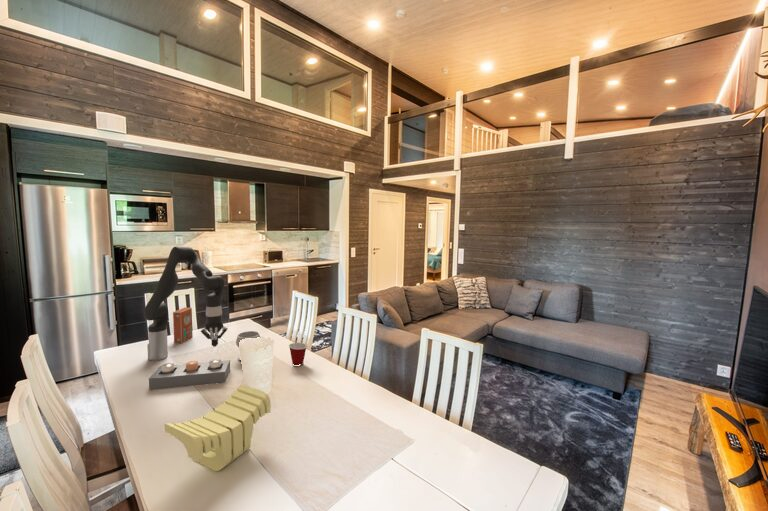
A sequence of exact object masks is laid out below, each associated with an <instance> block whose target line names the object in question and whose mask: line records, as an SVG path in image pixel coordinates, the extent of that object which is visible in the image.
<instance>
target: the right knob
mask: <svg viewBox="0 0 768 511" xmlns="http://www.w3.org/2000/svg"><path fill="white" fill-rule="evenodd" d="M221 361H222V359H220V358H216V359H211V360H209V361H208V362H209V370H214V369H221Z"/></svg>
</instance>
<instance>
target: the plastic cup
mask: <svg viewBox="0 0 768 511" xmlns="http://www.w3.org/2000/svg"><path fill="white" fill-rule="evenodd" d="M288 347H289V351H290V357H291V362H292V365H293V364H294V365H299V364H302V363H303V364H304V360H305V356H306V351H307V348H308V344H306V343H304V342H292V343H290V344H288Z"/></svg>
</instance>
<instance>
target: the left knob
mask: <svg viewBox="0 0 768 511" xmlns="http://www.w3.org/2000/svg"><path fill="white" fill-rule="evenodd" d="M174 365H175V363H174V362H168V363H164V364H161V365H160V366H161V370H162V374H168V373H174V372H175V367H174Z"/></svg>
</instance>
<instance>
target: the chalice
mask: <svg viewBox="0 0 768 511" xmlns="http://www.w3.org/2000/svg"><path fill="white" fill-rule="evenodd" d="M257 337H260V338H261V336H260V332H258V331H251V330H250V331H244V332H241V333H239V334H238V335H237V337H236V341H235V345H236V346H237V347H238V348H239V342H240V340H242V339H245V338H257ZM237 361H240V356H238V358H237ZM240 362H241V361H240Z"/></svg>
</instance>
